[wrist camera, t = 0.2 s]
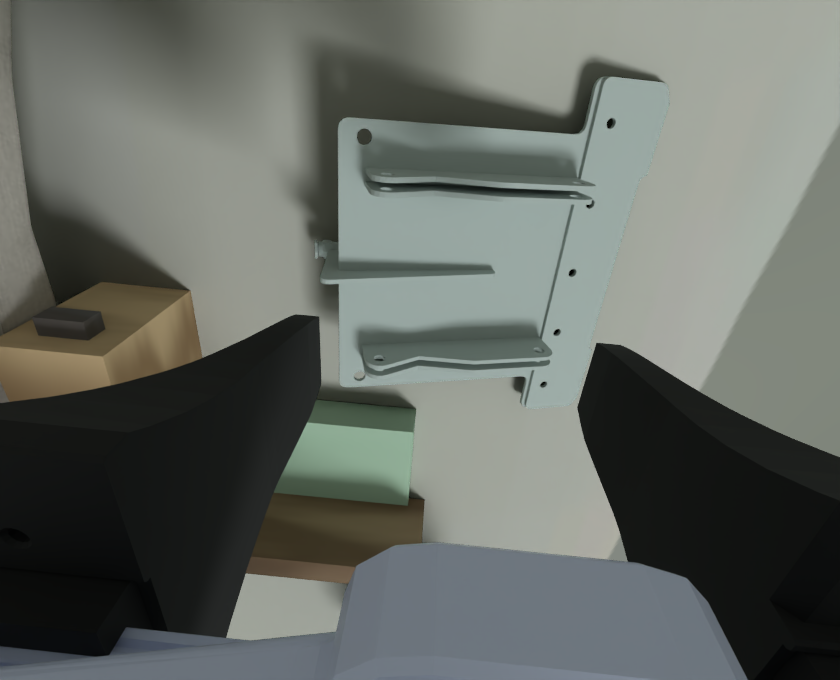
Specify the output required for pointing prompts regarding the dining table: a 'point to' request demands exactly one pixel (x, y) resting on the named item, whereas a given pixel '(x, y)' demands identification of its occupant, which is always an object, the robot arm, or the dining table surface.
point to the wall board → (330, 535)
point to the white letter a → (16, 211)
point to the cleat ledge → (353, 454)
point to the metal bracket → (484, 243)
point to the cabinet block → (99, 341)
